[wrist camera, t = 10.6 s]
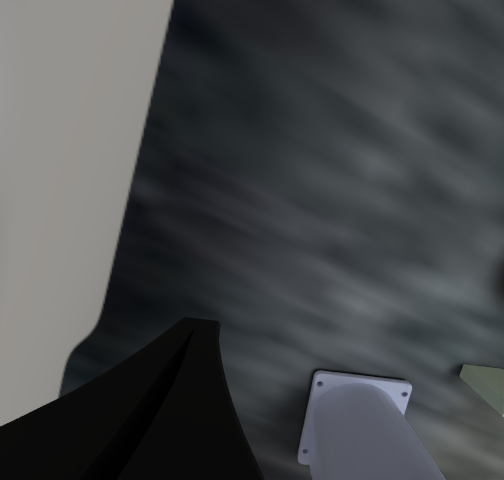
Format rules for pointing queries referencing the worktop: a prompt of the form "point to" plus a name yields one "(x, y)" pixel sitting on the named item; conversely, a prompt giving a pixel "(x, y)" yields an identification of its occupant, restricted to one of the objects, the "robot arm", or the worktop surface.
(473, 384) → the pale green rail frame
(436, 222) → the worktop surface
